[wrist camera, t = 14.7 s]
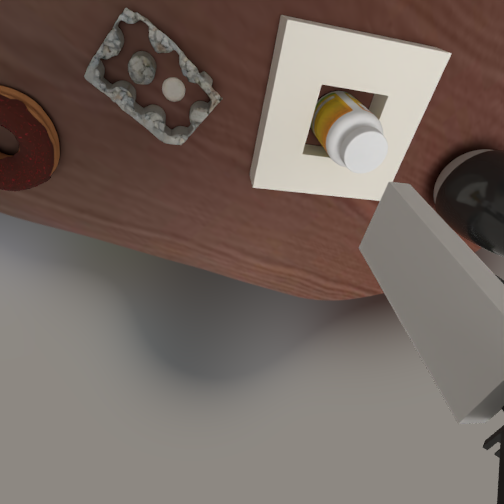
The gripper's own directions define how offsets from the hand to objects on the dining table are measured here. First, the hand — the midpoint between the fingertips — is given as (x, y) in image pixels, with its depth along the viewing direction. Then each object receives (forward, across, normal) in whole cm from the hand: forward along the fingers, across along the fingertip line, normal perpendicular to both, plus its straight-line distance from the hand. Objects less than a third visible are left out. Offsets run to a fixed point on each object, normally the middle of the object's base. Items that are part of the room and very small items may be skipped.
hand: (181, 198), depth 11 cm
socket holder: (+29, +16, -5) cm, 33 cm away
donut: (+29, -17, -12) cm, 36 cm away
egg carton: (+29, -3, -4) cm, 30 cm away
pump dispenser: (+29, +35, -10) cm, 46 cm away
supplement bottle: (+29, +16, -5) cm, 33 cm away
